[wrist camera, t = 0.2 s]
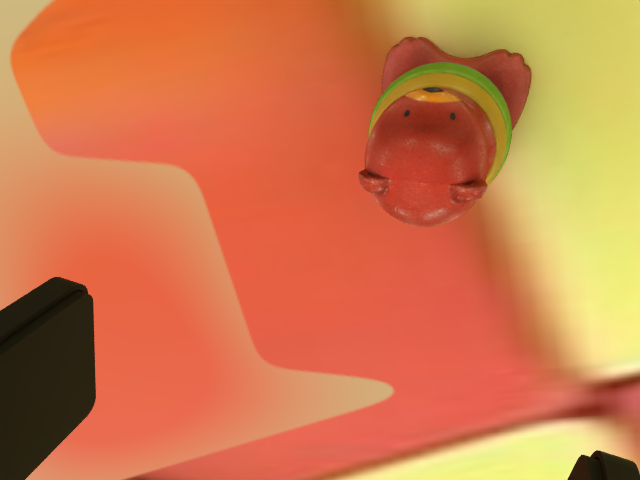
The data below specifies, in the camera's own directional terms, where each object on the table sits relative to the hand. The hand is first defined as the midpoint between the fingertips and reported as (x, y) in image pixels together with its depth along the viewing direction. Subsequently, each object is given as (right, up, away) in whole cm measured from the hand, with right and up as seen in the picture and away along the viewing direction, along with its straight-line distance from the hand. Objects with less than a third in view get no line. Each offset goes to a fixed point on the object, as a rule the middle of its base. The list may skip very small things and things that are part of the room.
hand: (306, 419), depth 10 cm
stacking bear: (+10, +13, +33) cm, 37 cm away
